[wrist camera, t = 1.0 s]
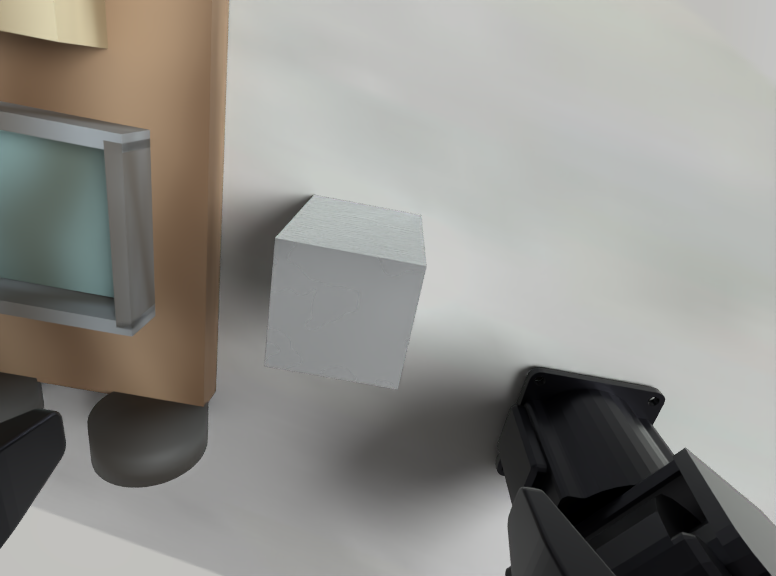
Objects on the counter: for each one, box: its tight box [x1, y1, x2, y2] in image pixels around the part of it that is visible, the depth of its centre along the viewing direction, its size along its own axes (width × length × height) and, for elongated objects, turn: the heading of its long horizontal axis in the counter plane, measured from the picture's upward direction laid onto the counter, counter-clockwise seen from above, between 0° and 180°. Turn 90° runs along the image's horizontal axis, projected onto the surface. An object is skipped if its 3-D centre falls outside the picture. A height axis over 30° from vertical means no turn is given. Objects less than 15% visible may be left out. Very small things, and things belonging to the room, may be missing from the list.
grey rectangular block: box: [264, 195, 426, 390], centre depth 17 cm, size 4×4×6 cm
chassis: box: [0, 0, 229, 487], centre depth 16 cm, size 13×25×5 cm, turn 170°
